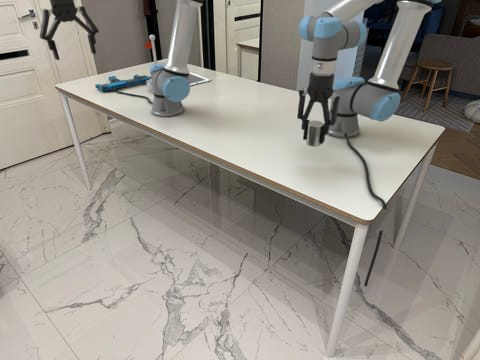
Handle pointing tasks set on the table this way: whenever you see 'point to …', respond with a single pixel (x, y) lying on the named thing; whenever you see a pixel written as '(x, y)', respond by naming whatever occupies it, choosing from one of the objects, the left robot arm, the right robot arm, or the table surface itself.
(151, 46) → the flag stand
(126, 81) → the submachine gun
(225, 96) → the table surface
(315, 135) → the canister
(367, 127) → the table surface
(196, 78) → the tablet
